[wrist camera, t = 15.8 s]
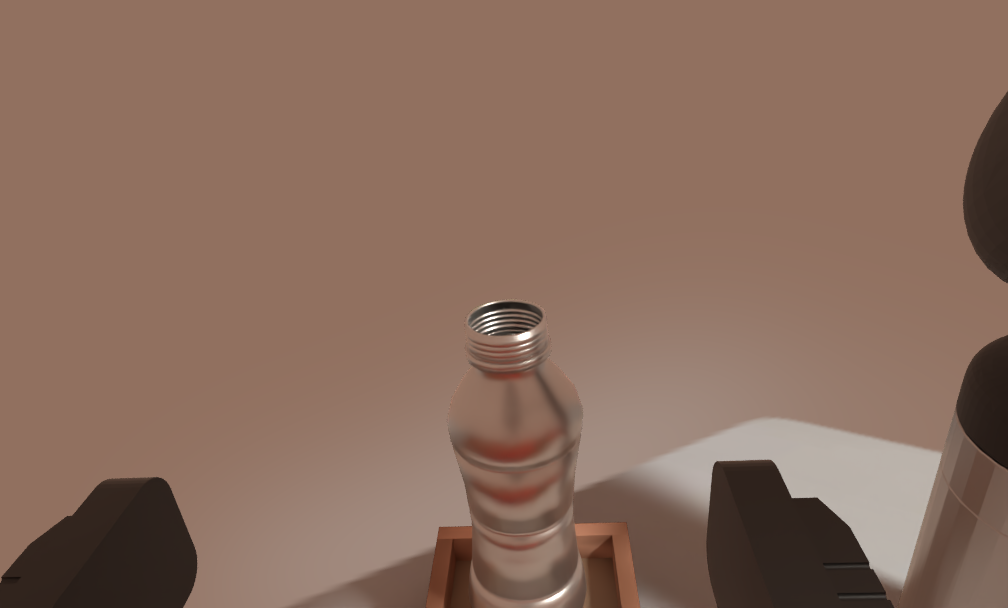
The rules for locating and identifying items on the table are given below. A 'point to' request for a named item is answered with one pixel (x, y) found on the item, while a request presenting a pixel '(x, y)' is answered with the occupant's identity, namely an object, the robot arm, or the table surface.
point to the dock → (600, 549)
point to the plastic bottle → (518, 461)
